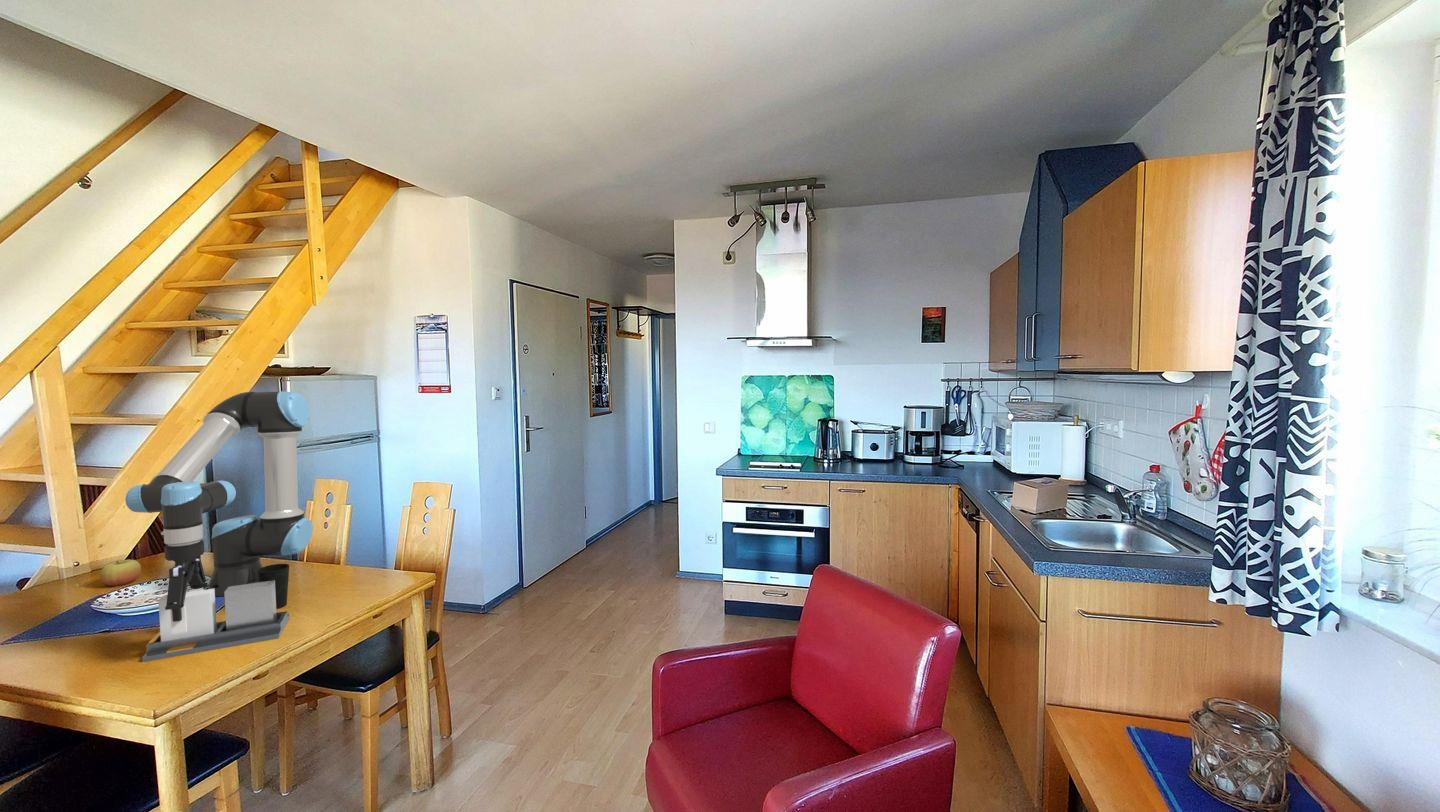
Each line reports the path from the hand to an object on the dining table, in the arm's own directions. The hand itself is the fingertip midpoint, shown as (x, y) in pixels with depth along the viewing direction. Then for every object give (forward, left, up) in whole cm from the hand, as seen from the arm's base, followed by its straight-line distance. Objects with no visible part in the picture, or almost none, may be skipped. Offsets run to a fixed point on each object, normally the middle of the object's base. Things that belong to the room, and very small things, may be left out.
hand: (188, 622), depth 149 cm
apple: (-66, -36, -6) cm, 75 cm away
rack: (0, +6, -6) cm, 9 cm away
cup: (-19, +14, -6) cm, 25 cm away
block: (0, 0, -5) cm, 5 cm away
